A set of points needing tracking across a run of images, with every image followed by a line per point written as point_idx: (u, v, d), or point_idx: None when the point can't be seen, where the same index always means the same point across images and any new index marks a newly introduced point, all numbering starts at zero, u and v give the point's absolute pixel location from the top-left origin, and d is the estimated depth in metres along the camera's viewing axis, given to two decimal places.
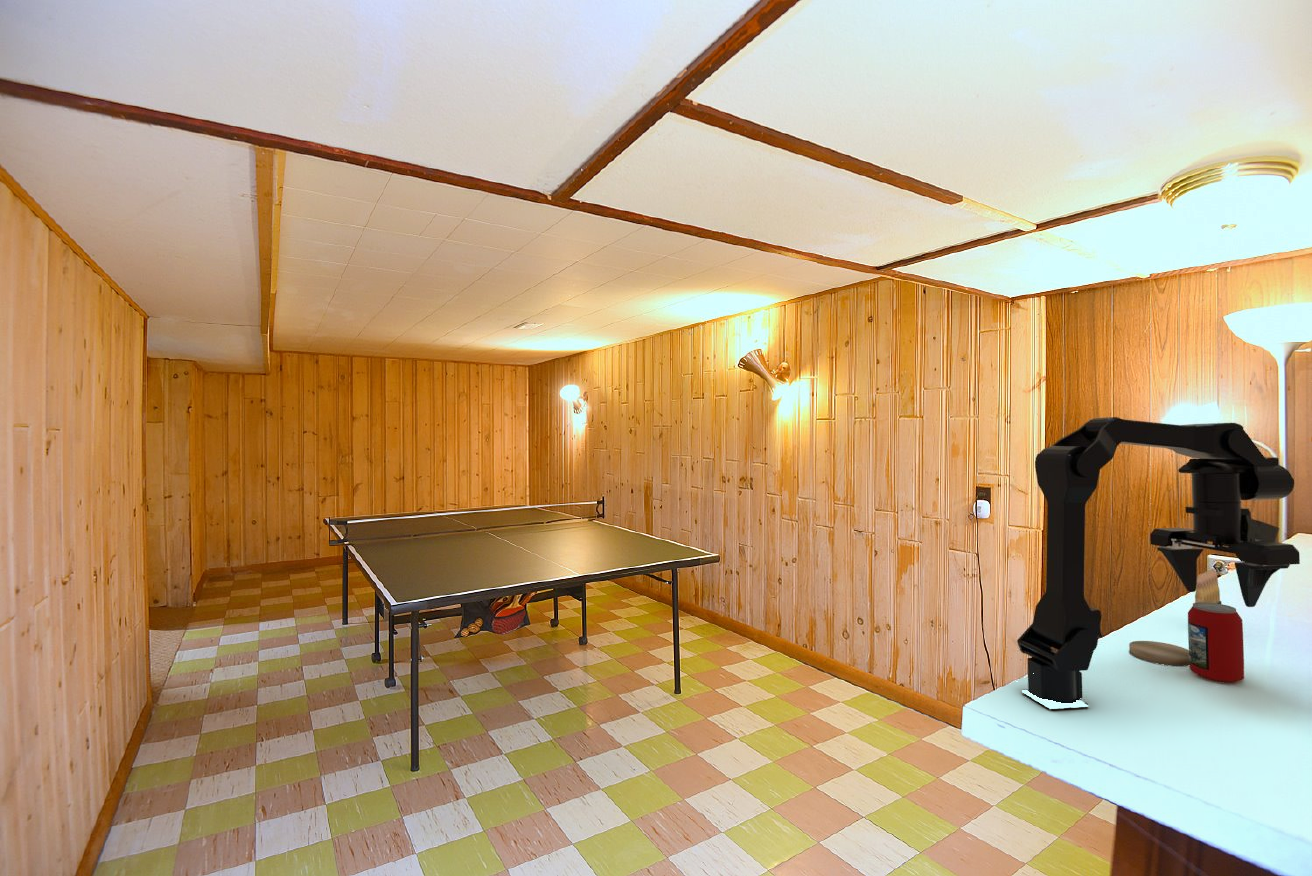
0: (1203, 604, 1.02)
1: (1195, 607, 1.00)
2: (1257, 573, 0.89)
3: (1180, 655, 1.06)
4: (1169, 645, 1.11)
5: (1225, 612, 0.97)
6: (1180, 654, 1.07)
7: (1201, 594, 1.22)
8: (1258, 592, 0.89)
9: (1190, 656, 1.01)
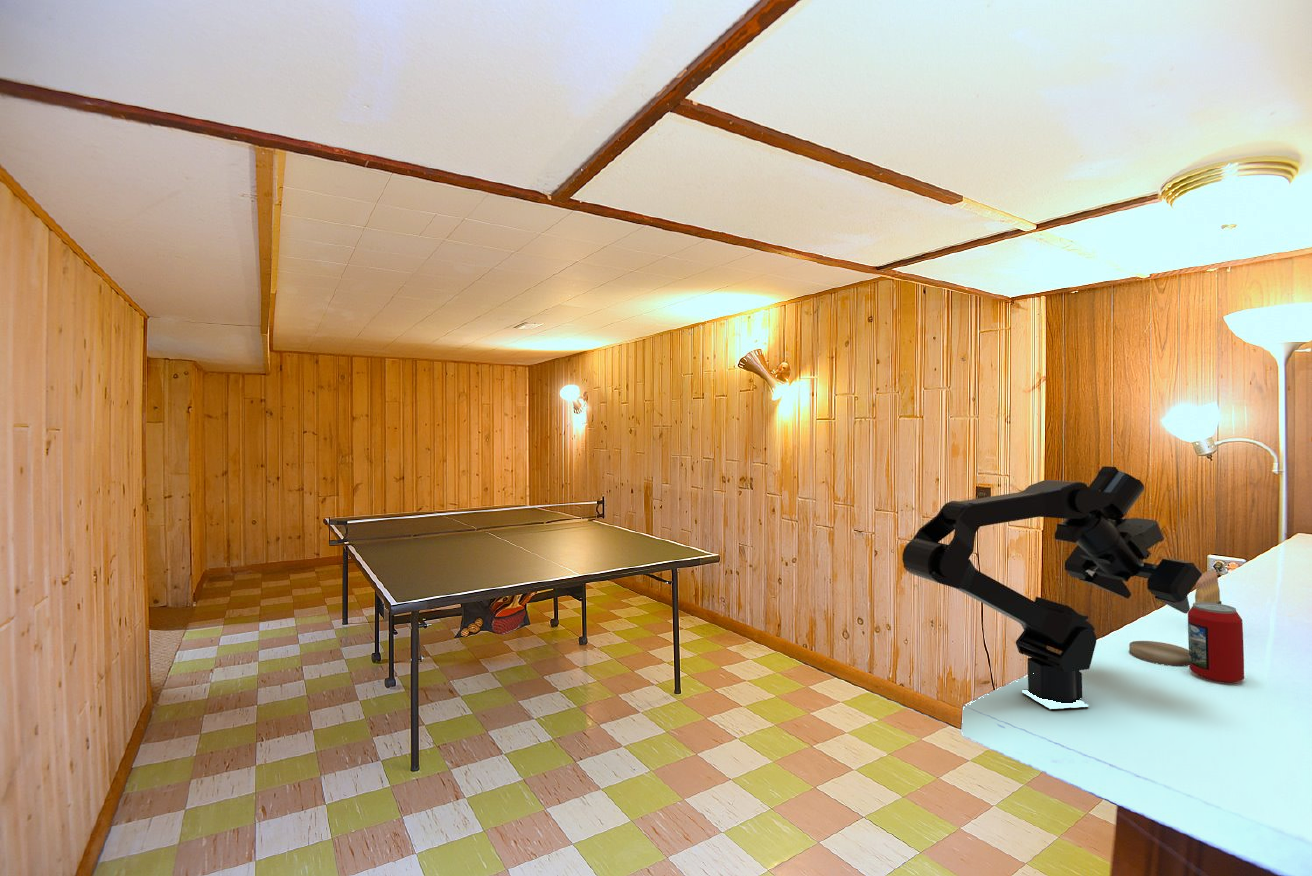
0: (1203, 604, 1.02)
1: (1195, 607, 1.00)
2: None
3: (1180, 655, 1.06)
4: (1169, 645, 1.11)
5: (1225, 612, 0.97)
6: (1180, 654, 1.07)
7: (1201, 594, 1.22)
8: (1185, 600, 0.92)
9: (1190, 656, 1.01)
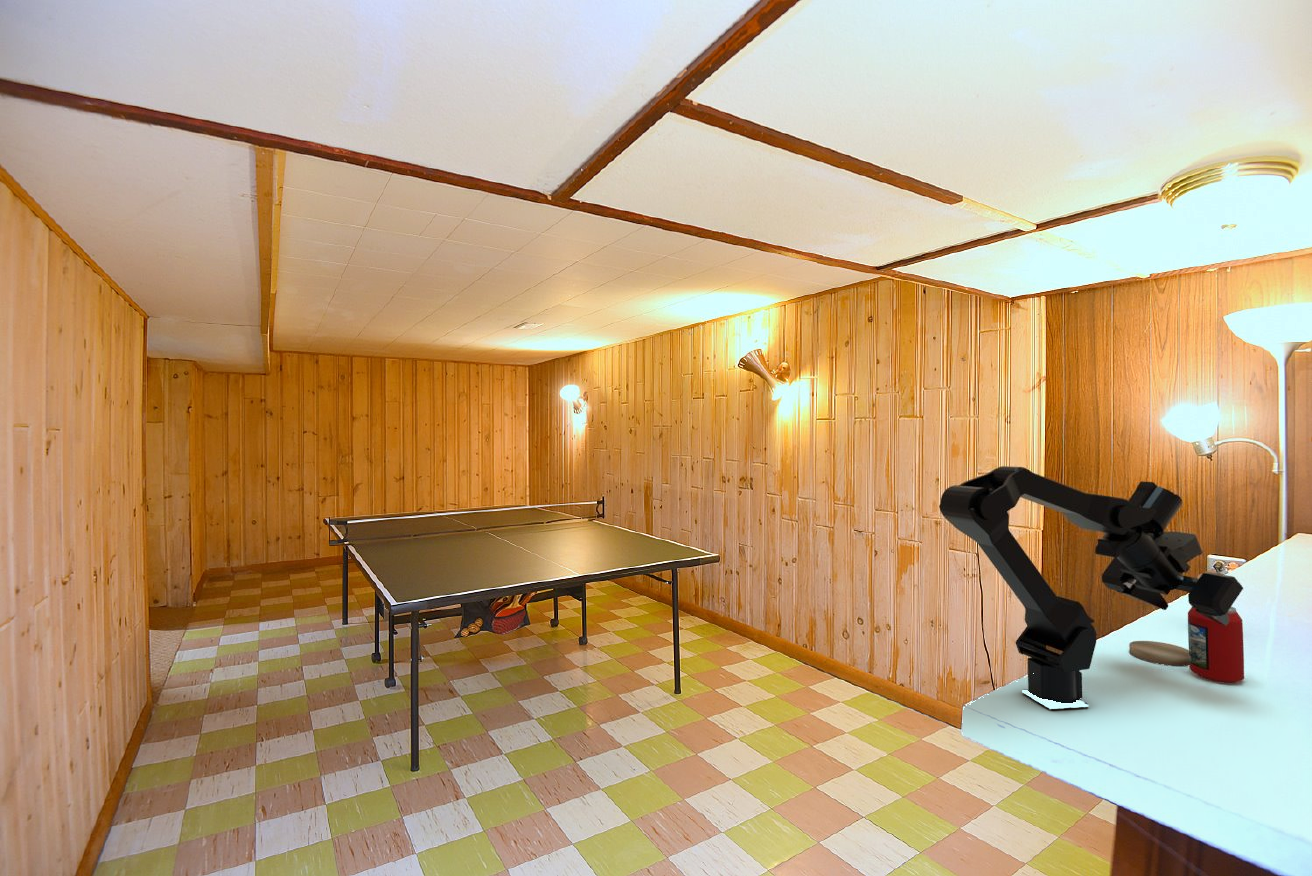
0: None
1: None
2: None
3: (1180, 655, 1.06)
4: (1169, 645, 1.11)
5: None
6: (1180, 654, 1.07)
7: None
8: (1225, 613, 0.93)
9: (1190, 656, 1.01)
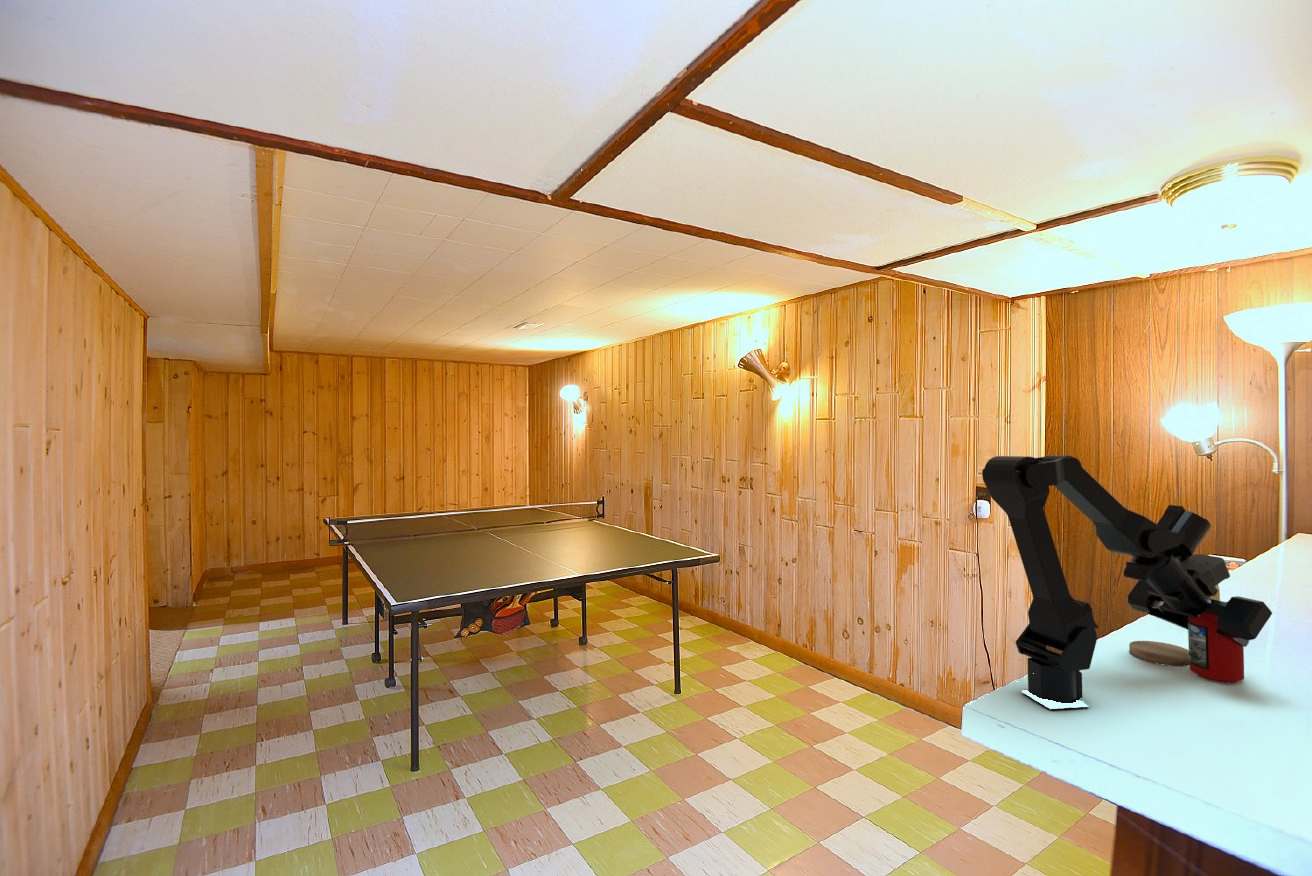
0: None
1: None
2: None
3: (1180, 655, 1.06)
4: (1169, 645, 1.11)
5: None
6: (1180, 654, 1.07)
7: None
8: None
9: (1190, 656, 1.01)
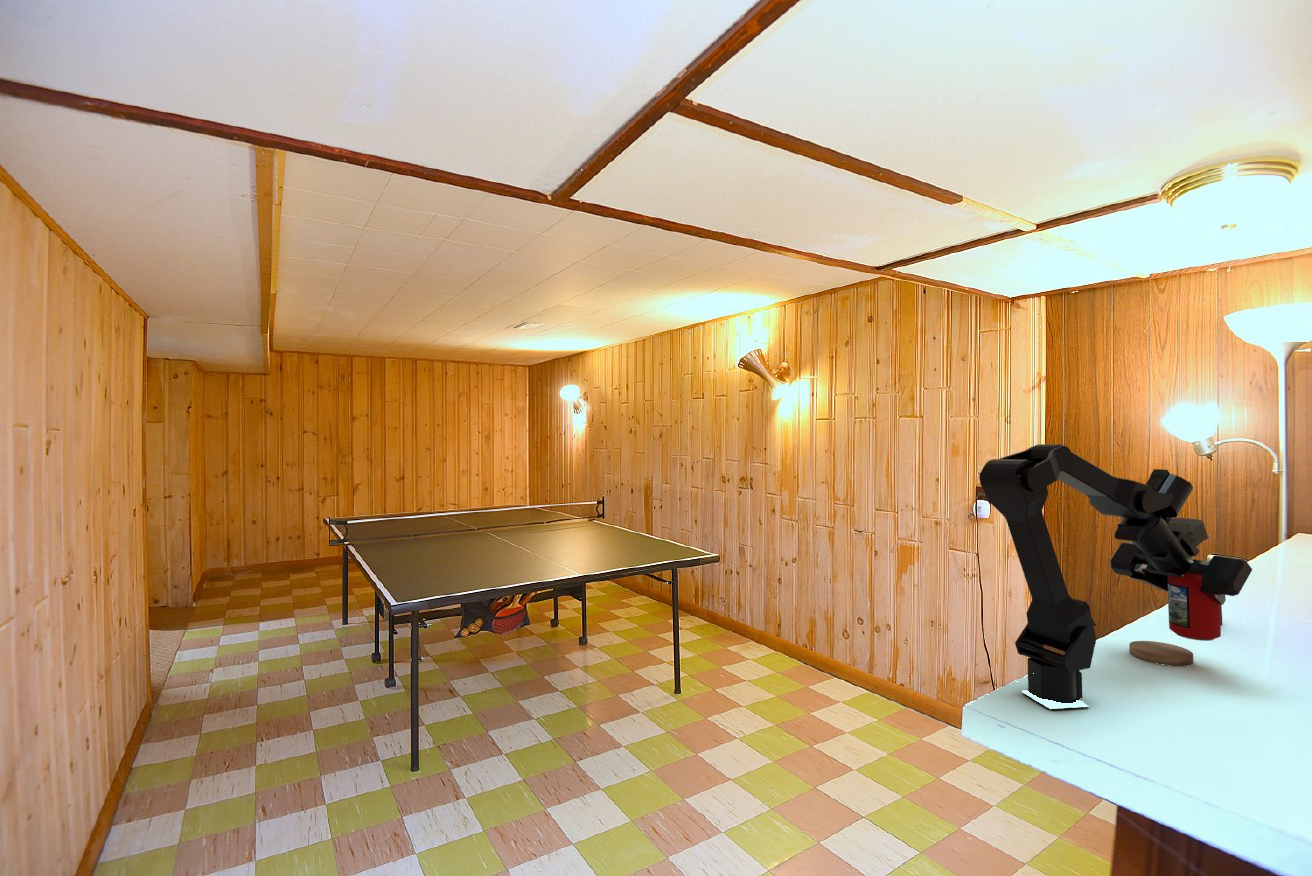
0: None
1: None
2: None
3: (1180, 655, 1.06)
4: (1169, 645, 1.11)
5: None
6: (1180, 654, 1.07)
7: None
8: None
9: (1170, 616, 1.04)
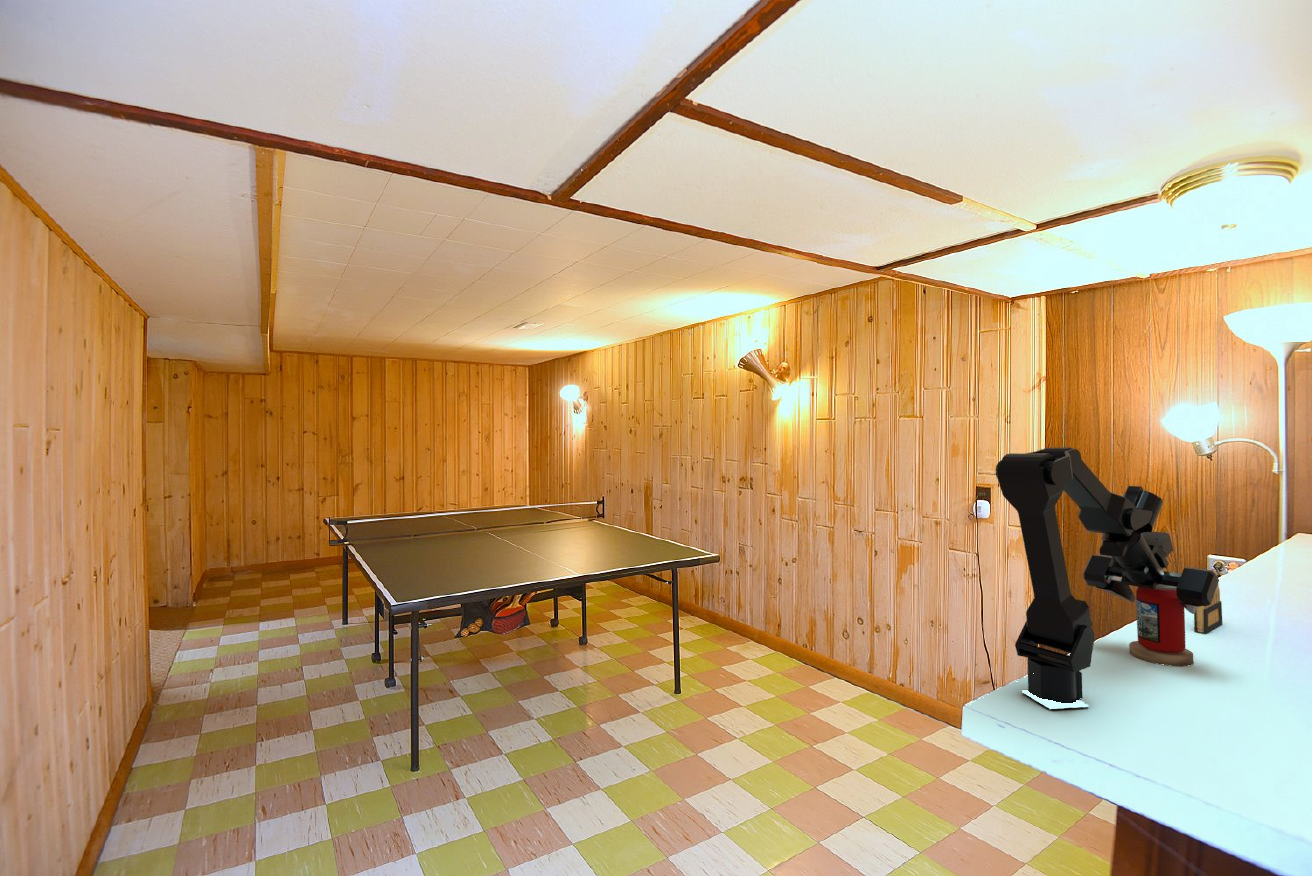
0: None
1: None
2: None
3: (1180, 655, 1.06)
4: None
5: (1172, 589, 1.07)
6: (1180, 654, 1.07)
7: None
8: None
9: (1140, 631, 1.10)
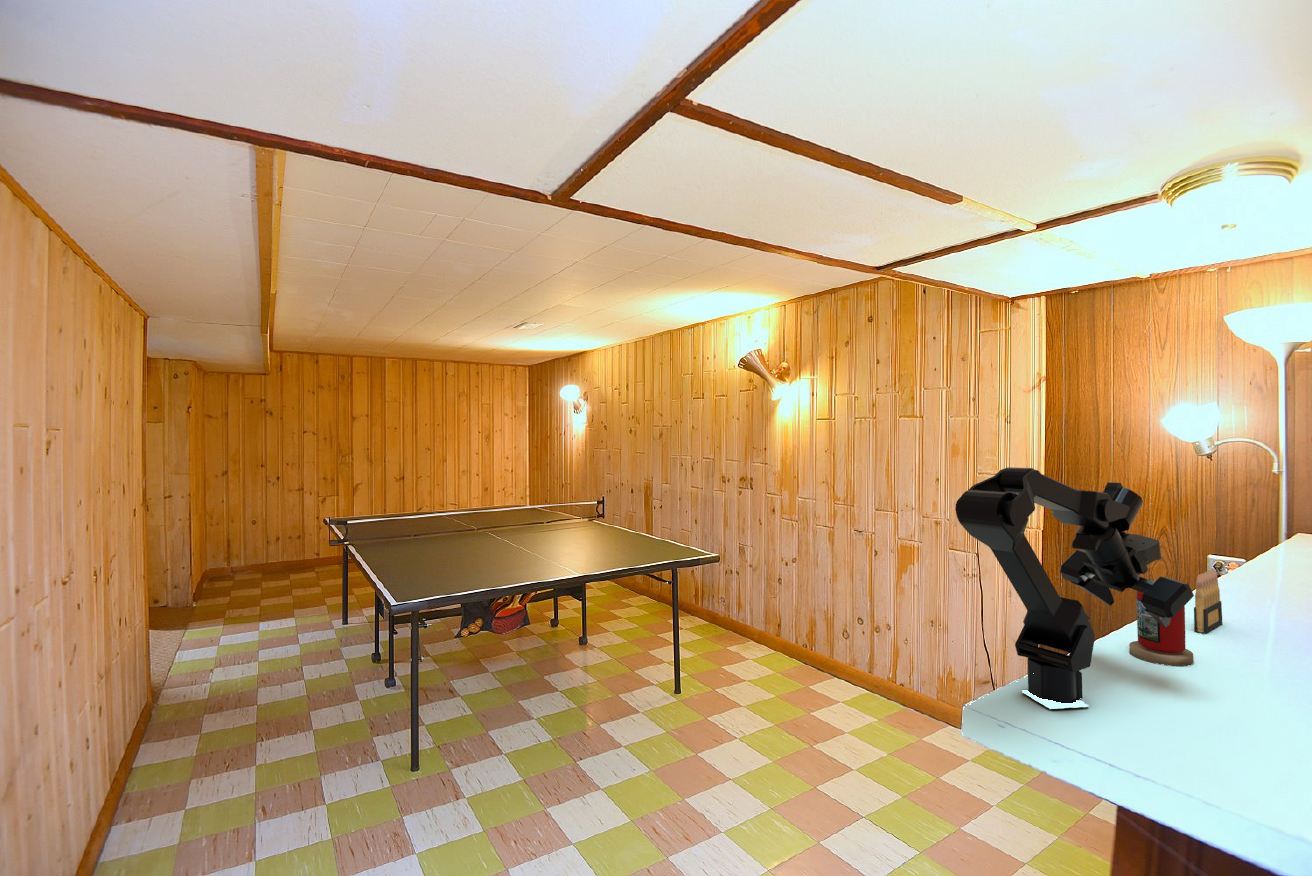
0: None
1: None
2: None
3: (1180, 655, 1.06)
4: None
5: None
6: (1180, 654, 1.07)
7: (1201, 594, 1.22)
8: None
9: (1140, 631, 1.10)
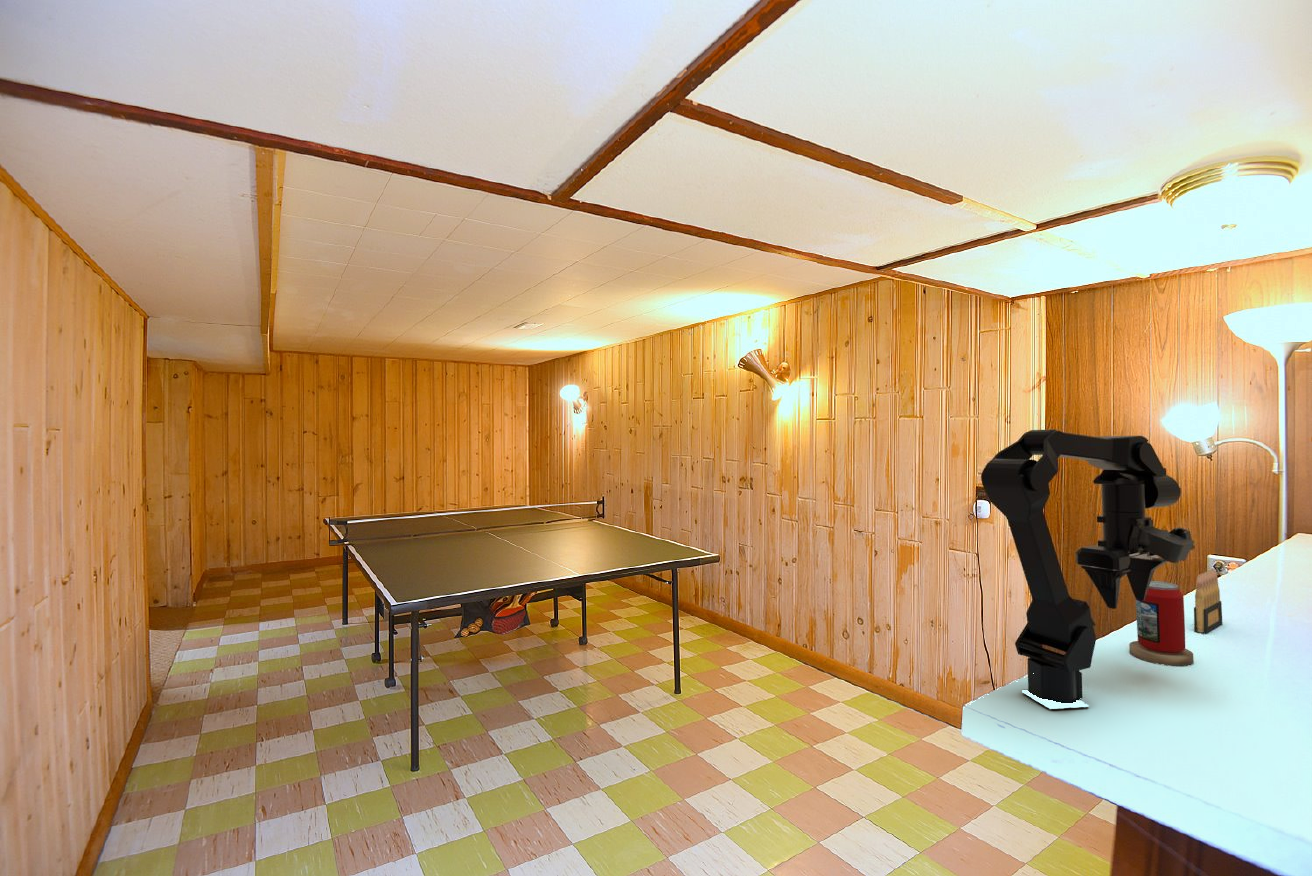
0: None
1: None
2: (1107, 576, 0.96)
3: (1180, 655, 1.06)
4: None
5: (1172, 589, 1.07)
6: (1180, 654, 1.07)
7: (1201, 594, 1.22)
8: (1111, 595, 0.96)
9: (1140, 631, 1.10)
